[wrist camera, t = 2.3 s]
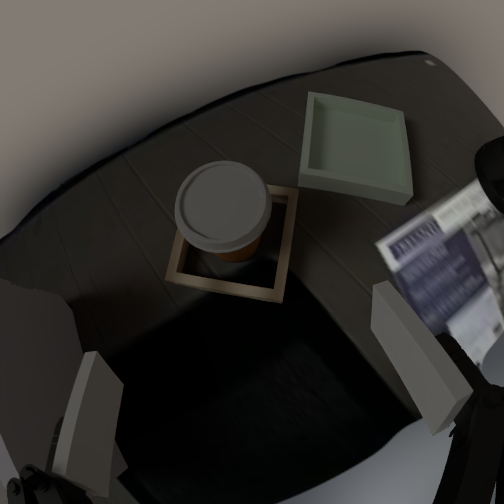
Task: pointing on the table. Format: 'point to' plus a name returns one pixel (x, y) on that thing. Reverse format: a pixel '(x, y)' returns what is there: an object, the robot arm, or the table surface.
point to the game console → (36, 376)
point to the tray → (355, 149)
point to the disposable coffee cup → (224, 210)
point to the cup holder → (272, 295)
